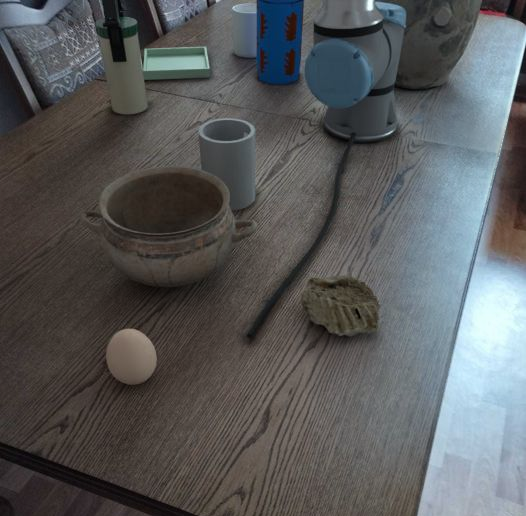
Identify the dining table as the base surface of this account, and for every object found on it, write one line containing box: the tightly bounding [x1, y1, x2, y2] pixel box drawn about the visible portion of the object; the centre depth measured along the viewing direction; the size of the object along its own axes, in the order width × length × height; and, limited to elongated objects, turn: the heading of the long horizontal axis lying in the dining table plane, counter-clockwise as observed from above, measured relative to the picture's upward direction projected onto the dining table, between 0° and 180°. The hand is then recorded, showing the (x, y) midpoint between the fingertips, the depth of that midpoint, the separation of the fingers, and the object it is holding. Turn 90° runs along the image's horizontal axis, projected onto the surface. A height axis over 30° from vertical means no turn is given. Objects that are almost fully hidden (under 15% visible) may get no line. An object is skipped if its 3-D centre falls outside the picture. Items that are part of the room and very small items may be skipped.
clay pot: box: [376, 0, 483, 90], centre depth 126 cm, size 22×23×30 cm
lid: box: [95, 16, 139, 38], centre depth 112 cm, size 8×8×2 cm
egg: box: [105, 328, 158, 386], centre depth 65 cm, size 6×6×8 cm
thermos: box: [256, 0, 305, 85], centre depth 128 cm, size 11×11×25 cm
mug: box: [231, 3, 257, 59], centre depth 146 cm, size 9×12×11 cm
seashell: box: [300, 275, 381, 337], centre depth 73 cm, size 11×7×10 cm
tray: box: [142, 46, 211, 81], centre depth 140 cm, size 16×16×2 cm
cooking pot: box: [79, 165, 258, 288], centre depth 78 cm, size 25×19×12 cm
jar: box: [97, 33, 149, 115], centre depth 118 cm, size 8×8×16 cm
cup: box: [197, 117, 256, 212], centre depth 93 cm, size 9×9×12 cm
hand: (121, 53), depth 116 cm, fingers closed on lid, 8 cm apart
